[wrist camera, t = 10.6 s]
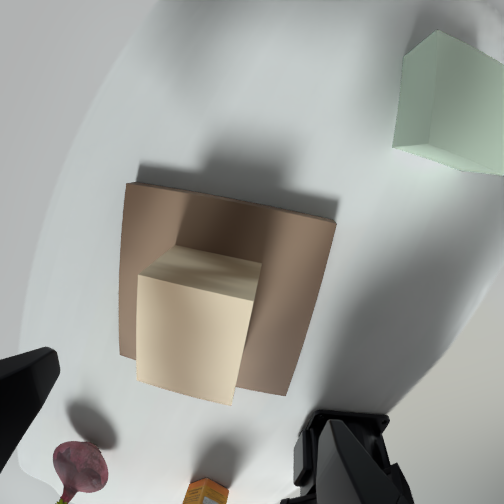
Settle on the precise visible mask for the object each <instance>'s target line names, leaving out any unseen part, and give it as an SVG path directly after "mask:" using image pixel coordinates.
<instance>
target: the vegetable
mask: <svg viewBox="0 0 504 504" xmlns="http://www.w3.org/2000/svg"><path fill="white" fill-rule="evenodd" d="M95 445H96V444H92V443H91V442H78V441H69V442H65V443H62V444H60V445H59V446H58V447H57V448H56V449H55V451H54V453H53V464H54V468H55V470H56V472H57V474H58V476H59V478H60V479H61V481H62V483H63V485H64V490H63V494H62V496H61V497H60V498H61V499H60V500H59V502H57V504H68V503H69V502H70V501H71V499H72V498H73V497H74V496H75V494H76V493H77V492H79V491H81V492H86V493H92V492H96V491H99V490H101V489H102V488H103V487H104V486H105V485H106V483H107V480H108V468H107V465H106V462H105V460H104V458H103V456H102V455H101V451H100V450H99V448H97V446H95Z"/></svg>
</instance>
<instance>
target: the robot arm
mask: <svg viewBox="0 0 504 504" xmlns="http://www.w3.org/2000/svg"><path fill="white" fill-rule="evenodd" d="M59 374H60V365H59V360H58V355H57V352H56V351H55V350H54V349H51V348H49V347H43V348H39V349H36V350H33V351H29V352H26V353H22V354H19V355H15V356H12V357H9V358H5V359H1V360H0V473H1V471H2V470H3V468H4V466H5V464H6V463H7V461H8V460H9V458H10V456H11V455H12V453H13V451H14V450H15V448H16V447H17V445H18V443H19V442H20V440H21V439H22V437H23V435H24V434H25V432H26V431H27V429H28V428H29V426H30V425H31V423H32V422H33V420H34V419H35V417H36V416H37V414H38V413H39V411H40V409H41V408H42V406H43V404H44V403H45V401H46V399H47V397H48V395H49V393H50V391H51V389H52V388H53V386H54V384H55V382H56V380H57V378H58V376H59ZM320 415H321V416H320ZM389 422H390V419H389V416H387V415H377V414H361V413H348V412H338V411H328V410H317V411H315V412H314V414H313V416H312V418H311V420H310V422H309V424H308V427H307V429H304V430H303V431H302V432H301V434H300V436H299V439H298V441H297V443H296V445H295V447H294V485H295V486H300V490H301V491H300V492H301V493H300V494H301V495H300V497H296V498H291V499H290V498H286V499H282V500H281V502H280V504H414V500H413V497H412V494H411V490H410V487H409V485H408V483H407V481H406V479H405V477H404V475H403V473H402V471H401V469H400V467H399V465H398V463H395V464H393V465H390V461H389V457H388V454H387V450H386V446H385V443H384V439H383V436H382V433H383V431H384V430H385V428H386V427H387V425H388V424H389Z"/></svg>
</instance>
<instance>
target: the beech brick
mask: <svg viewBox="0 0 504 504" xmlns="http://www.w3.org/2000/svg"><path fill="white" fill-rule="evenodd" d="M261 266H262V263H258V262H253V261H248V260H243V259H239V258H234V257H229V256H224V255H220V254H215V253H210V252H205V251H201V250H196V249H191V248H187V247H182V246H177V245H175V246H173V247H172V248H171V249H170V250H168V251H167V252H166V253H164V254H163V255H162V256H161V257H159V258H158V259H157V260H156V261H154V262H153V263H152V264H151V265H149V266H148V267H147V268H146V269H144V270H143V271H142V272H141V273H139V274H138V287H137V315H136V369H137V381H140V382H143V383H147V384H150V385H153V386H156V387H159V388H163V389H166V390H170V391H173V392H177V393H180V394H184V395H188V396H191V397H195V398H199V399H203V400H207V401H211V402H216V403H220V404H224V405H229V406H231V404H232V400H233V396H234V391H235V387H236V382H237V378H238V373H239V369H240V364H241V360H242V355H243V351H244V346H245V341H246V337H247V332H248V327H249V323H250V318H251V313H252V309H253V304H254V299H255V294H256V290H257V285H258V280H259V275H260V271H261Z"/></svg>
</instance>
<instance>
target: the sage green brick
mask: <svg viewBox="0 0 504 504" xmlns="http://www.w3.org/2000/svg"><path fill="white" fill-rule="evenodd" d="M392 148H395V149H398V150H402V151H405V152H408V153H411V154H414V155H417V156H420V157H423V158H426V159H429V160H432V161H435V162H438V163H441V164H443V165H446V166H449V167H452V168H454V169H457V170H459V171H467V172H476V173H485V174H493V175H501V176H504V65H503V64H502V63H500V62H498V61H497V60H495V59H493V58H492V57H490V56H488V55H487V54H485V53H483V52H481V51H479V50H478V49H476V48H474V47H472V46H470V45H468V44H466V43H464V42H462V41H460V40H458V39H456V38H454V37H452V36H450V35H448V34H446V33H444V32H441V31H439V30H436V31H435V32H433V33H432V34H431V35H430V36H428V37H427V38H426V39H425V40H423V41H422V42H421V43H420V44H418V45H417V46H416V47H415V48H414V49H412V50H411V51H410V52H409V53H408V54H406V55H405V56H404V57H403V65H402V77H401V86H400V95H399V104H398V112H397V119H396V126H395V133H394V139H393V145H392Z"/></svg>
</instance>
